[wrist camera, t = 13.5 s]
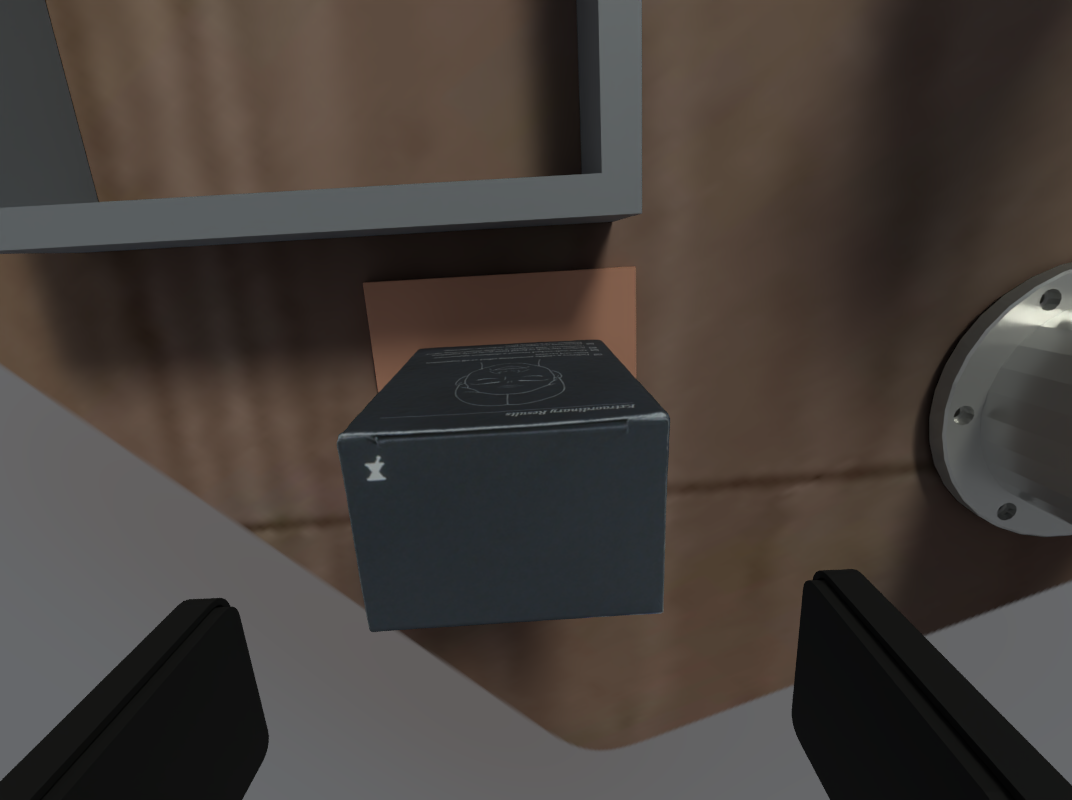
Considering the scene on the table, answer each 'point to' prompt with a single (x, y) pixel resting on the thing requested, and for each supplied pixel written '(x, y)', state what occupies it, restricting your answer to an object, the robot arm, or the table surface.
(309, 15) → the table surface
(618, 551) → the box
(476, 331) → the mat
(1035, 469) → the robot arm
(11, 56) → the enclosure
